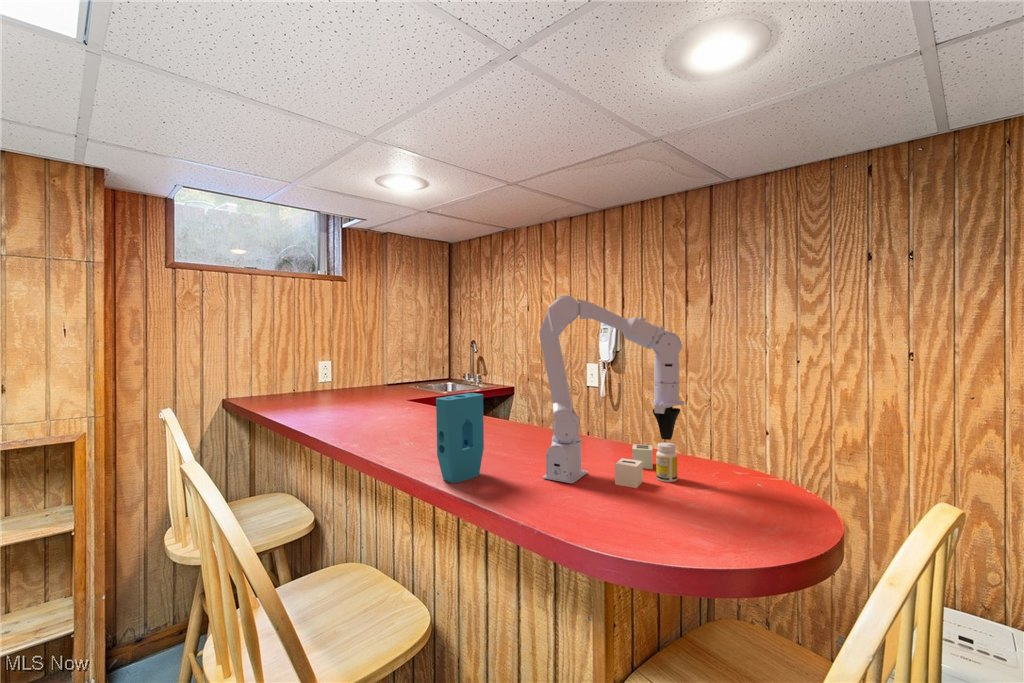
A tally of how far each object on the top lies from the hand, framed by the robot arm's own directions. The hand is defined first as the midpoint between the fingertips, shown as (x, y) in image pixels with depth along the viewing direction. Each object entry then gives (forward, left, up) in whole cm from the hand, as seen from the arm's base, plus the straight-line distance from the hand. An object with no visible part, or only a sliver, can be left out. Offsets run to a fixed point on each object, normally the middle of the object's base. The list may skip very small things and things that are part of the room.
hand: (666, 438), depth 110 cm
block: (-23, +44, -10) cm, 51 cm away
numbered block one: (-7, +7, -10) cm, 14 cm away
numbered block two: (+8, +8, -10) cm, 15 cm away
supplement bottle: (0, 0, -10) cm, 10 cm away
